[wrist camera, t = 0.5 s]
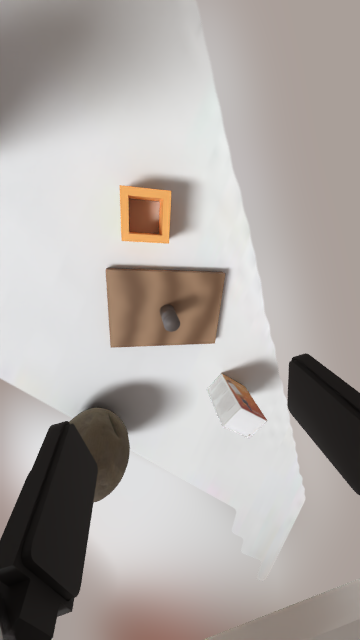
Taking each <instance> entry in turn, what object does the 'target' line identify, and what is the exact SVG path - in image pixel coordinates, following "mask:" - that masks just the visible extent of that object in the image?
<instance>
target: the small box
mask: <svg viewBox="0 0 360 640" xmlns="http://www.w3.org/2000/svg"><path fill="white" fill-rule="evenodd" d="M207 392H208V394H209V397H210V399H211V401H212V404H213V406H214V409H215V411H216V413H217V416H218V418H219V420H220V423H221V425H222V427H224V428H227V429H229V430H231V431H234V432H236V433H238V434H241V435H243V436H245V437H247V438H250V437H251V436H252V435H254V434H255V433H256V432H257V431H258V430H259V429H260V428H261V427H262V426H263V425H264V424H265V423H266V422H267V420H266V418H265V417H264V415H263V414H262V412H261V410H260V409H259V407H258V406H257V404H256V403H255V401H254V400H253V398H252V397H251V395H250V394H249V392H248V391H247V389H246V388H245V386H243V385H241V384H239V383H238V382H236V381H234V380H233V379H231V378H229V377H227V376H226V375H224V374H222V373H221V374H220V375H219V376H218V377H217V379H216V380H215V381H214V382H213V383H212V384H211V385H210V386H209V387H208V388H207Z"/></svg>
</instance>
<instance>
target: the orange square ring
mask: <svg viewBox="0 0 360 640" xmlns="http://www.w3.org/2000/svg"><path fill="white" fill-rule="evenodd" d="M129 198H130V199H140V200H150V201H160V210H159V234H152V233H137V232H129ZM120 208H121V237H122V241H134V242H152V243H169V231H170V210H171V191H168V190H158V189H149V188H140V187H131V186H121V185H120Z"/></svg>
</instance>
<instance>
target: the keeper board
mask: <svg viewBox="0 0 360 640" xmlns="http://www.w3.org/2000/svg"><path fill="white" fill-rule="evenodd" d="M224 280H225V273H223V272H211V271H180V270H148V269H116V268H107V269H106V282H107V298H108V313H109V328H110V344H111V347H136V346H161V345H185V344H210V343H215V339H216V332H217V326H218V319H219V312H220V306H221V299H222V293H223V286H224Z"/></svg>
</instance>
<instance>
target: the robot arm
mask: <svg viewBox="0 0 360 640" xmlns="http://www.w3.org/2000/svg"><path fill="white" fill-rule="evenodd" d="M288 409H289V411H290V413H291V414H292V415H293V417H294V418H295V419H296V420H297V421H298V423H299V424H300V425H301V426H302V428H303V429H304V430H305V431H306V432H307V434H308V435H309V436H310V437H311V439H312V440H313V441H314V442H315V443H316V445H317V446H318V447H319V448H320V450H321V451H322V452H323V453H324V455H325V456H326V457H327V458H328V459H329V461H330V462H331V463H332V464H333V466H334V467H335V468H336V469H337V470H338V472H339V473H340V474H341V475H342V477H343V478H344V479H345V480H346V481H347V483H348V484H349V485H350V486H351V488H353V490H354V491H355V492H356V493H357V494H359V495H360V393H359V392H358V391H356V390H355V389H354V388H352V387H351V386H350V385H348V384H347V383H346V382H344V381H343V380H342V379H341V378H339V377H338V376H337V375H335V374H334V373H333V372H331V371H330V370H329V369H327V368H326V367H325V366H323V365H322V364H321V363H319V362H318V361H317V360H315V359H314V358H313V357H311V356H310V355H309V354H302V355H299V356H296V357H293V358H292V361H291V362H290V363H289V380H288ZM97 474H98V467H97V463H96V461H95V459H94V458H93V456H92V454H91V453H90V451H89V449H88V447H87V446H86V444H85V442H84V440H83V439H82V437H81V435H80V434H79V432H78V430H77V428H76V427H75V425H74V424H73V423H72V424H70V423H69V422H68V421H65V422H62V423H59V424H55V425H52V426H50V428H49V430H48V432H47V434H46V437H45V439H44V442H43V444H42V447H41V449H40V451H39V454H38V456H37V458H36V461H35V463H34V465H33V468H32V470H31V471H30V473H29V475H28V476H27V479H26V481H25V483H24V486H23V488H22V490H21V493H20V495H19V497H18V500H17V502H16V504H15V507H14V509H13V511H12V514H11V516H10V519H9V521H8V523H7V526H6V528H5V530H4V533H3V535H2V537H1V540H0V640H53V633H54V629H55V624H56V619H57V617H58V616H61V615H64V614H66V613H69V612H72V608H73V602H74V598H75V597H76V596H77V595H78V593H79V590H80V587H81V581H82V573H83V568H84V561H85V554H86V547H87V540H88V534H89V527H90V520H91V514H92V507H93V501H94V494H95V488H96V481H97ZM204 640H360V579H358V580H355V581H353V582H350V583H347V584H345V585H342V586H340V587H337V588H335V589H332V590H329V591H327V592H324V593H321V594H319V595H316V596H314V597H311V598H309V599H306V600H303V601H301V602H298V603H296V604H293V605H291V606H289V607H286V608H283V609H280V610H278V611H275V612H273V613H271V614H268V615H265V616H262V617H260V618H257V619H255V620H253V621H250V622H248V623H245V624H242V625H240V626H237V627H235V628H232V629H229V630H227V631H224V632H222V633H219V634H217V635H214V636H212V637H209V638H206V639H204Z"/></svg>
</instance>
